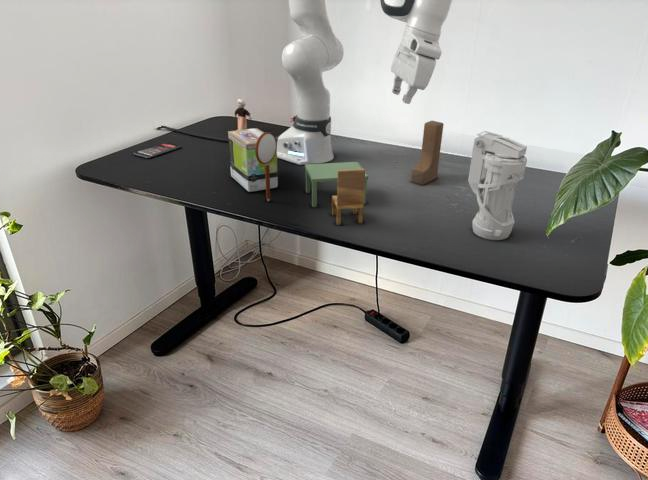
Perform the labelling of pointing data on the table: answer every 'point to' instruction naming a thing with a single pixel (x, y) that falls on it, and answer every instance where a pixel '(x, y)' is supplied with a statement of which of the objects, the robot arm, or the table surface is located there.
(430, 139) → the wooden block
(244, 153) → the tea box
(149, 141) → the table surface
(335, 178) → the side table
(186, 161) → the table surface
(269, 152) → the magnifying glass
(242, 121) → the grandmother figurine
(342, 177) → the chair
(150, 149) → the smartphone
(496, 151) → the grey mechanical canister
